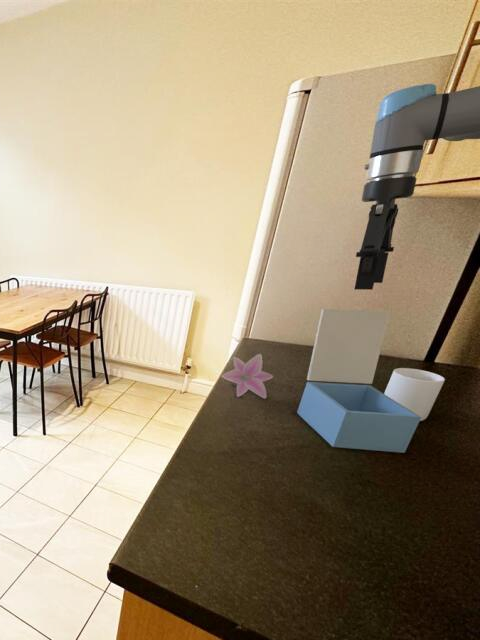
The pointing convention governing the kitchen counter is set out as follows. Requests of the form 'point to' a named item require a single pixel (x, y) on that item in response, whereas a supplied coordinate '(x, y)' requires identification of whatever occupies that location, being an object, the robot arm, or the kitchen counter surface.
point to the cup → (414, 389)
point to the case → (357, 417)
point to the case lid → (348, 345)
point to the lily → (248, 376)
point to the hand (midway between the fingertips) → (368, 286)
